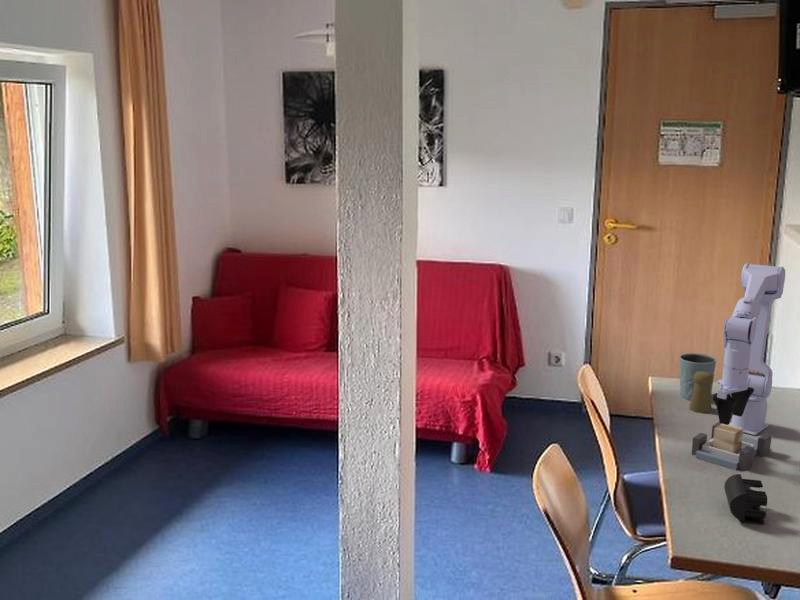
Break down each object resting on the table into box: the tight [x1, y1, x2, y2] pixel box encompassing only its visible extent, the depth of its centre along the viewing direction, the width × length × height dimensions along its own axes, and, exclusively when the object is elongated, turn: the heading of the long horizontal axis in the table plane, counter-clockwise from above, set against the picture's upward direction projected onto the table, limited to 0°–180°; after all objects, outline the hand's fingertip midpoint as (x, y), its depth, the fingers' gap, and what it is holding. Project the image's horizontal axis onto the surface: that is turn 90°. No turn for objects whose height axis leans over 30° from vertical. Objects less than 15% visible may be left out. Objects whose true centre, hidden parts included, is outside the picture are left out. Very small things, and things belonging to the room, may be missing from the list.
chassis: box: [691, 420, 772, 471], centre depth 207 cm, size 18×13×4 cm
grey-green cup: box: [679, 352, 717, 402], centre depth 246 cm, size 10×10×12 cm
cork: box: [688, 371, 714, 414], centre depth 236 cm, size 6×6×11 cm
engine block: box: [713, 424, 744, 453], centre depth 205 cm, size 5×5×6 cm
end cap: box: [724, 473, 768, 526], centre depth 176 cm, size 10×7×7 cm
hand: (730, 419), depth 204 cm, fingers open, 7 cm apart
